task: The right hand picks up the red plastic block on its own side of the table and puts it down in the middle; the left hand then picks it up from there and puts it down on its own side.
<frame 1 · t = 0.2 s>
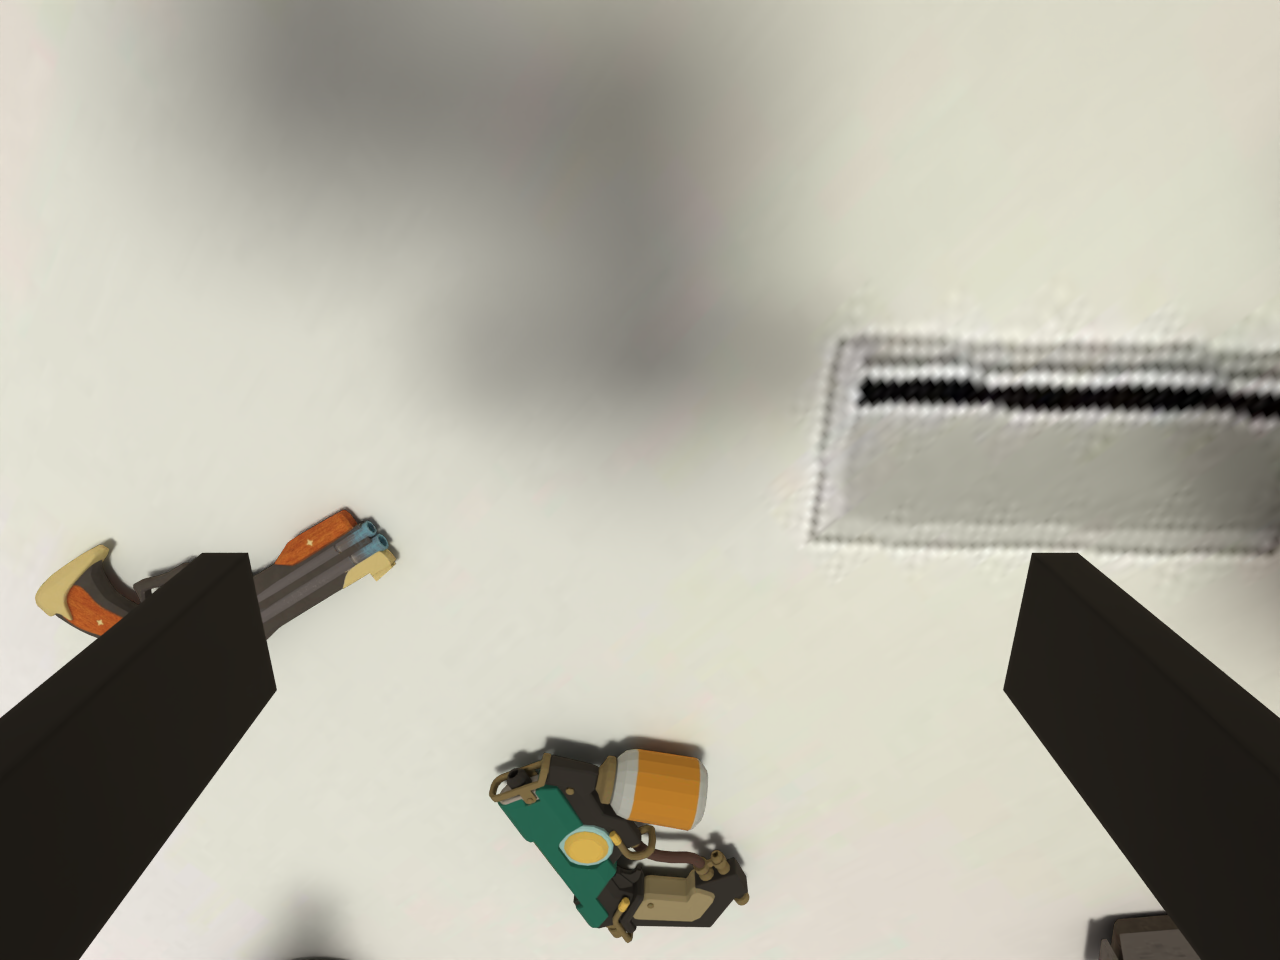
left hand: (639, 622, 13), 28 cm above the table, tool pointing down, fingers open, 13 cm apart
toy gun: (226, 567, 44), on the table
spray gun: (625, 824, 51), on the table
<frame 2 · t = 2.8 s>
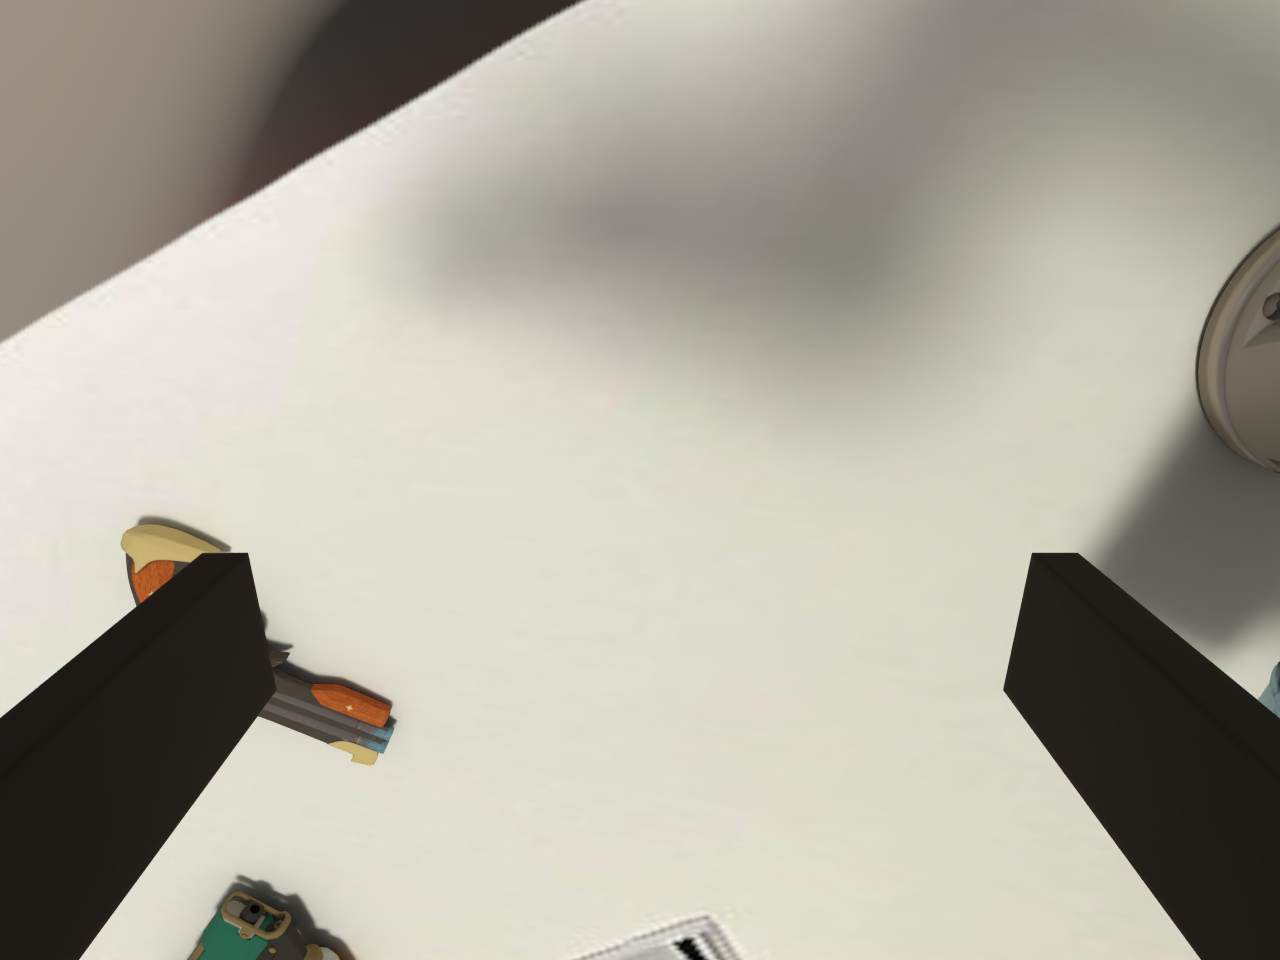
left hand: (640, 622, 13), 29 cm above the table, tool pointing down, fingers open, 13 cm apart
toy gun: (272, 639, 47), on the table
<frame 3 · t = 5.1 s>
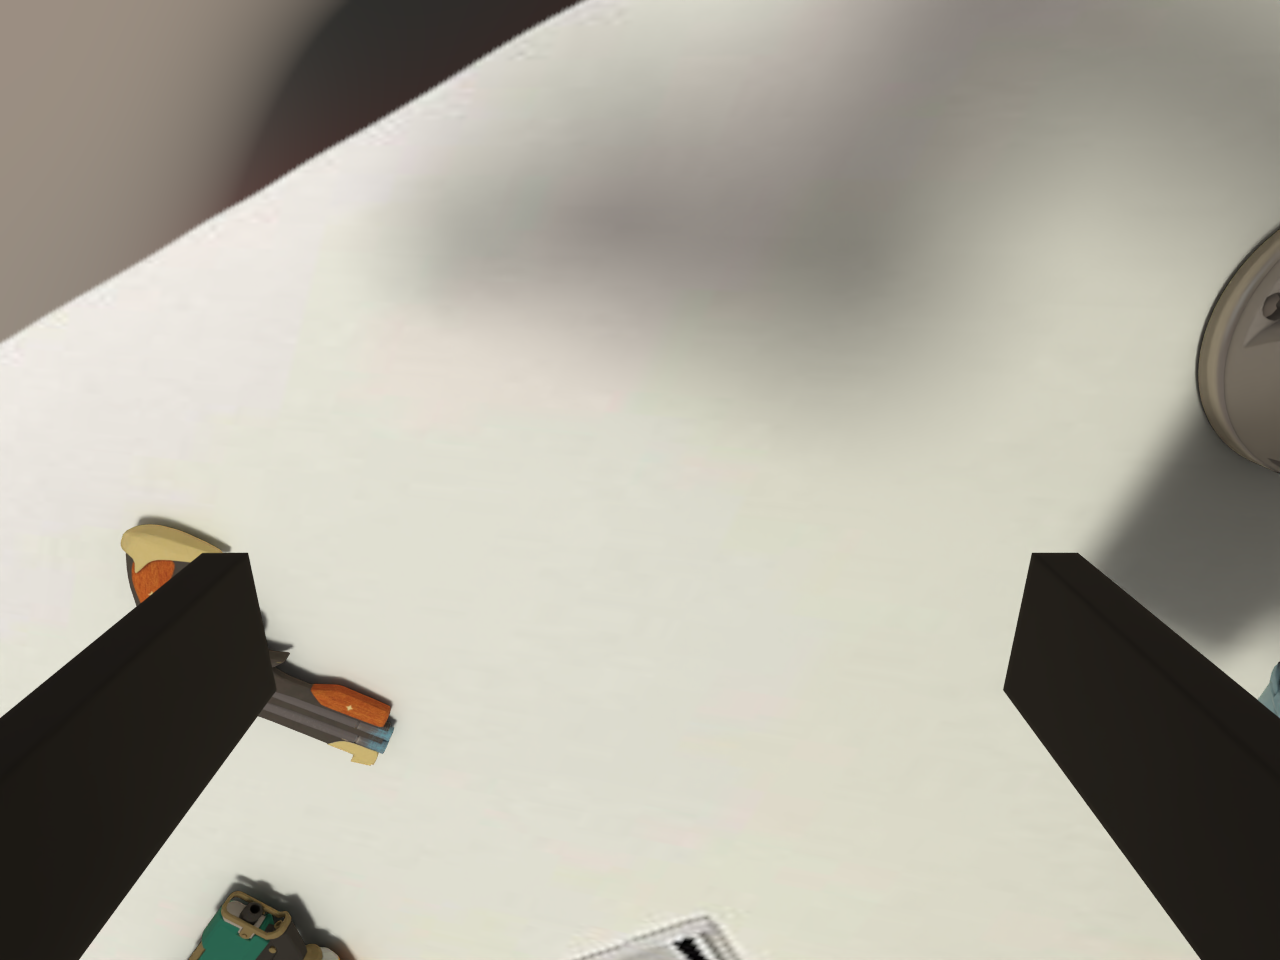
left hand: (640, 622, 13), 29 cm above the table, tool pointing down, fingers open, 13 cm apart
toy gun: (272, 639, 47), on the table
when the right hand's fingers open (4 cm above the table, at t = 7.5 s): block drops 2 cm, on the table.
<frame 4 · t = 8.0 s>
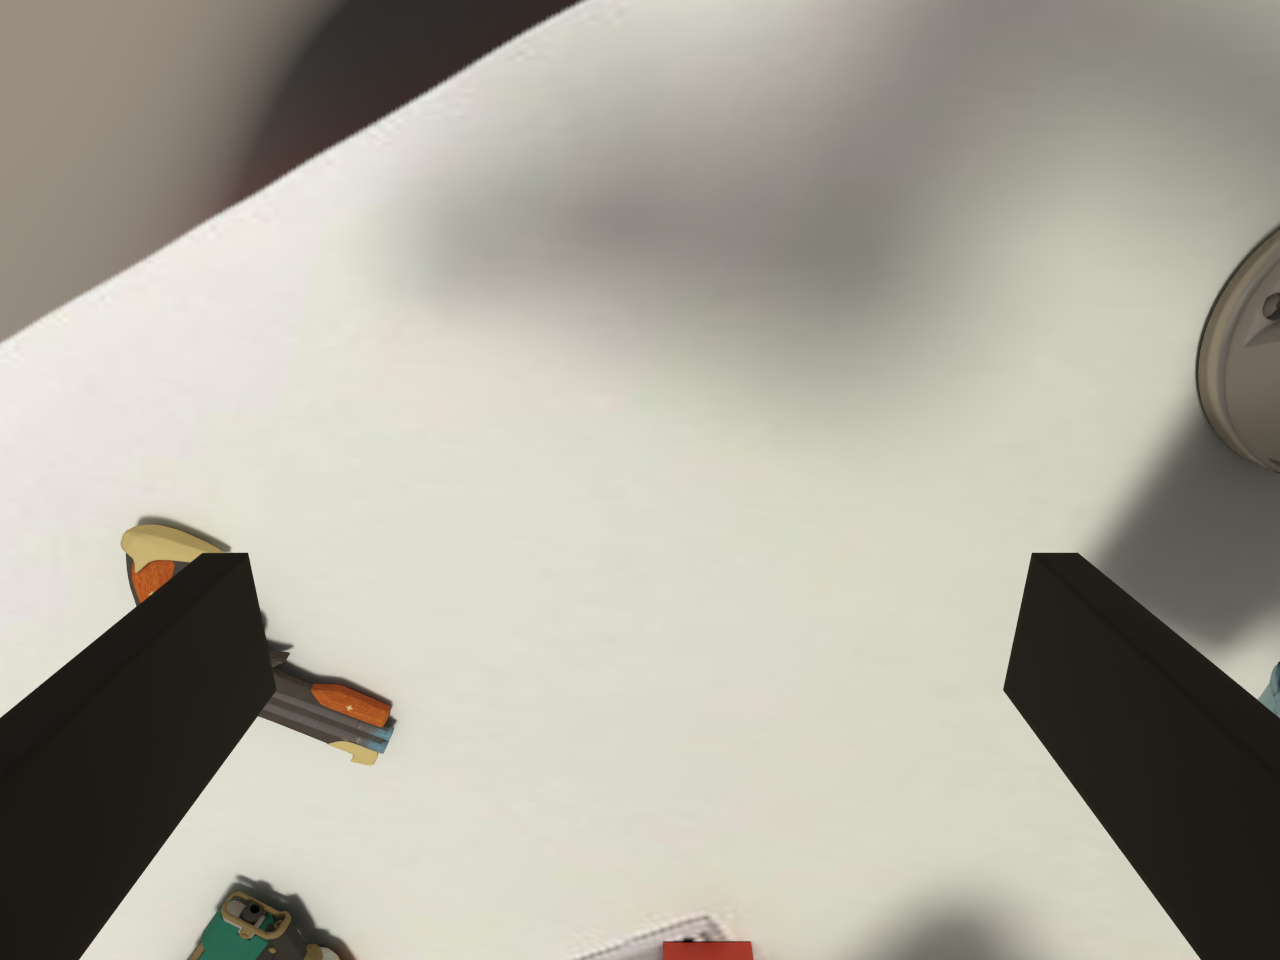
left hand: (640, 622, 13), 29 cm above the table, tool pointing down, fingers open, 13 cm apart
toy gun: (272, 639, 47), on the table
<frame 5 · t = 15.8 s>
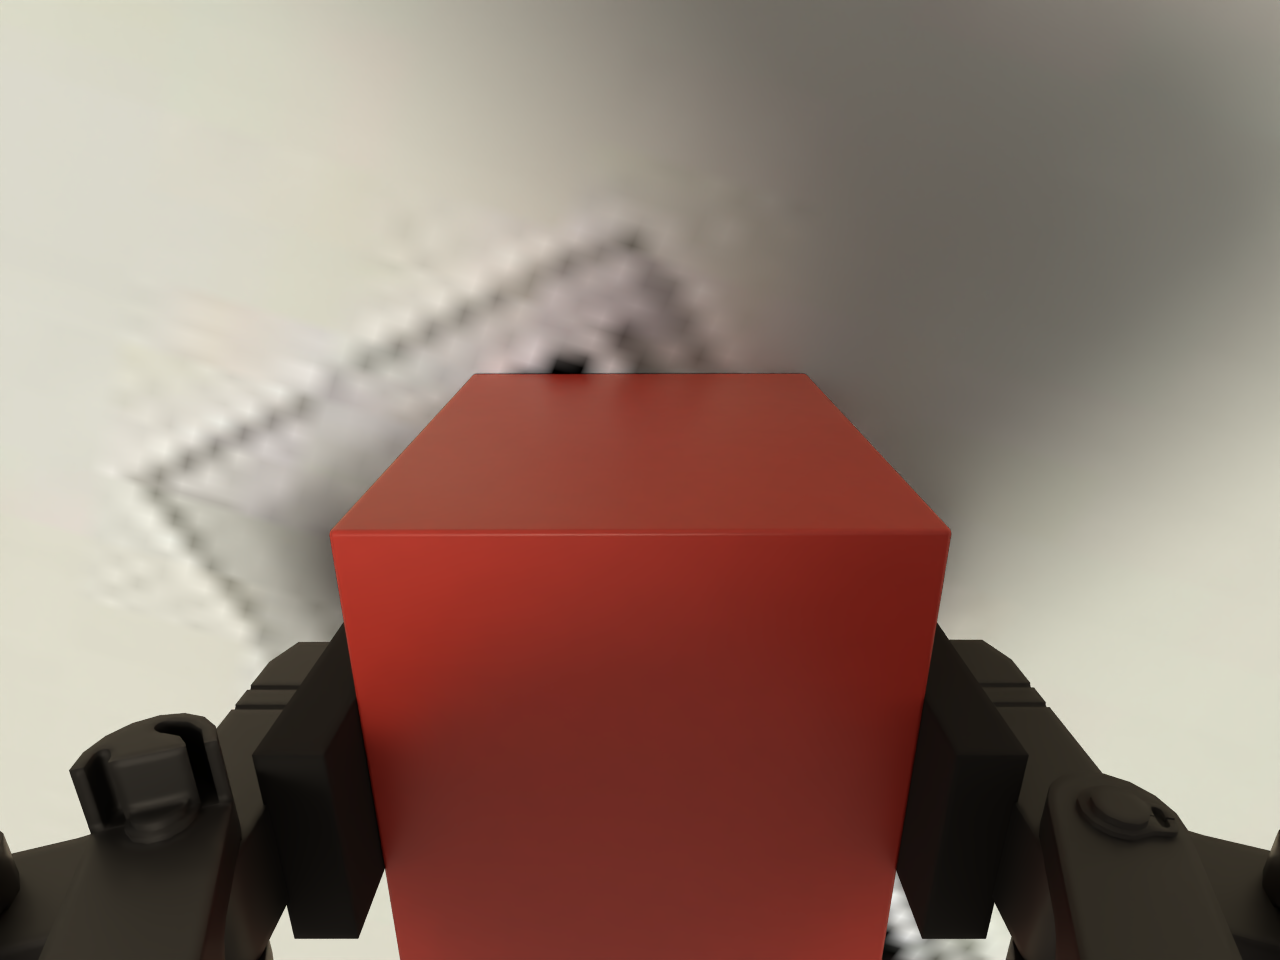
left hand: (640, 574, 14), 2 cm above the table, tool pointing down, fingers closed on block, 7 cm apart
block: (639, 536, 16), on the table, touching left hand
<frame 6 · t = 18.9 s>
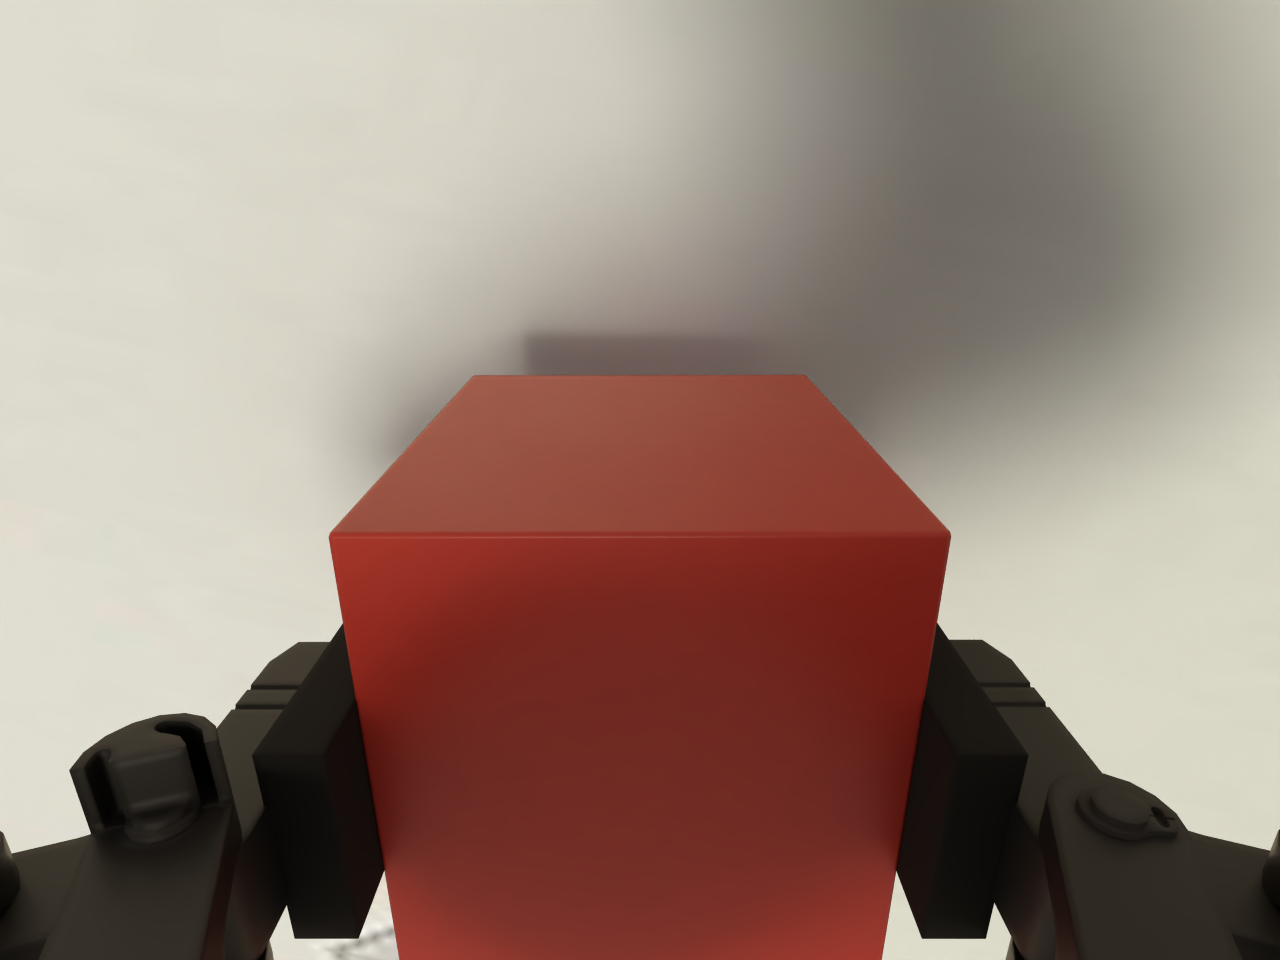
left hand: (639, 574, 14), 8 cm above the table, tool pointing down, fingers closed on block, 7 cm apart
block: (639, 537, 16), point 6 cm above the table, touching left hand
when the left hand's fingers open (4 cm above the table, at t = 21.9 s): block drops 2 cm, on the table.
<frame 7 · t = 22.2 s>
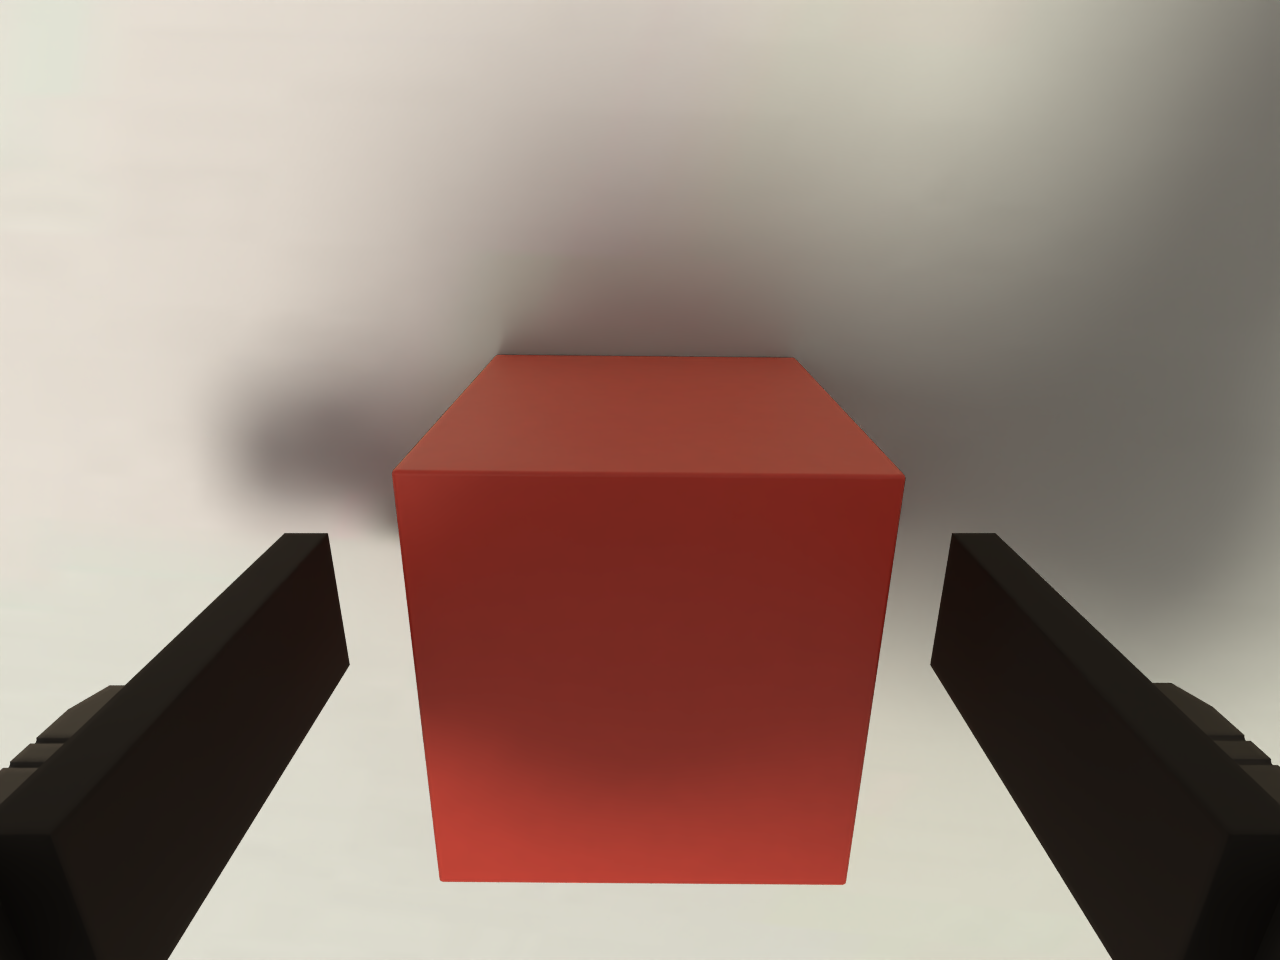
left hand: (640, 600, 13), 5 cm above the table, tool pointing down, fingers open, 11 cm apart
block: (643, 504, 18), on the table
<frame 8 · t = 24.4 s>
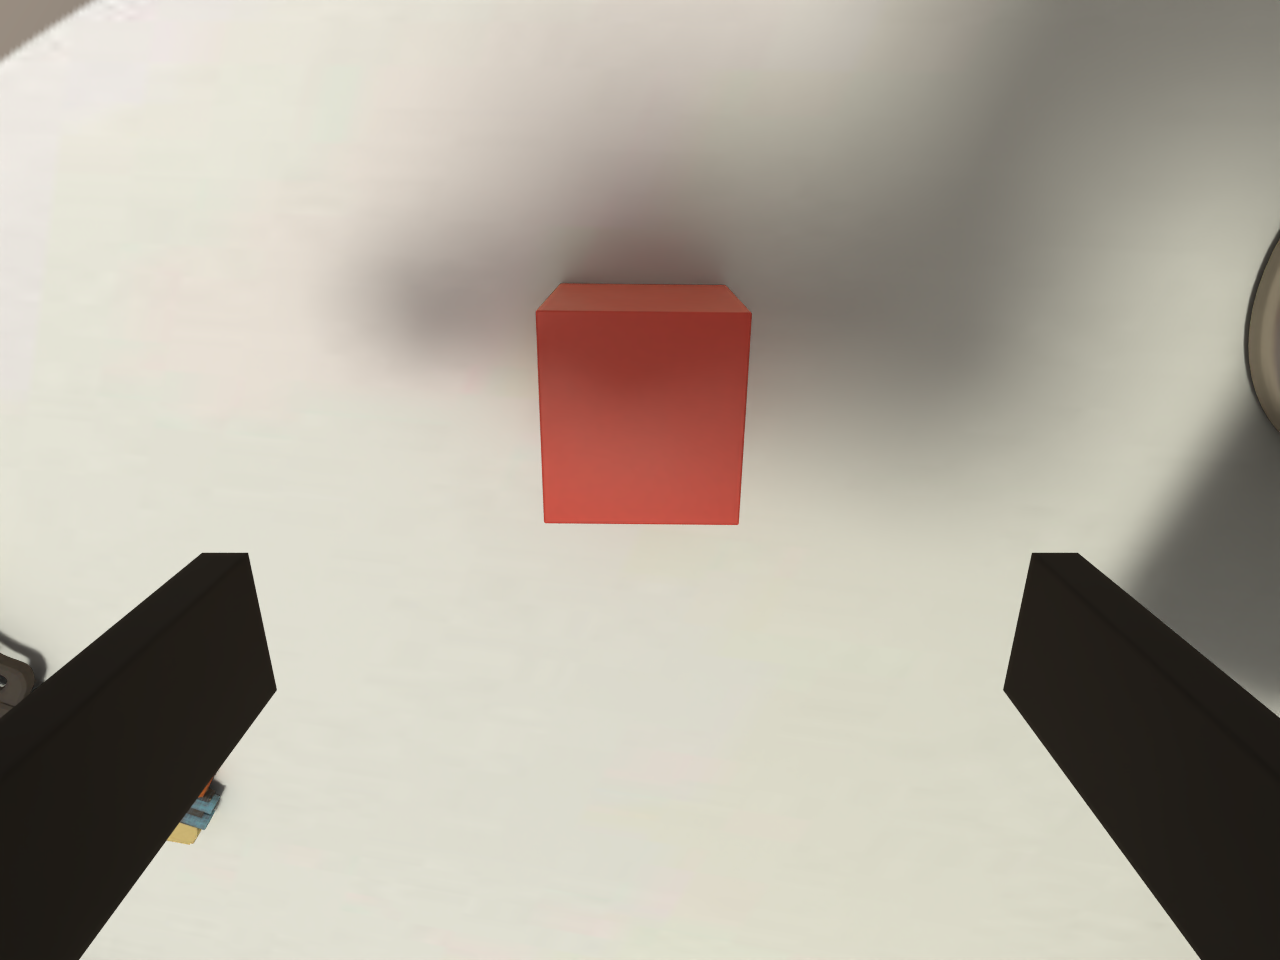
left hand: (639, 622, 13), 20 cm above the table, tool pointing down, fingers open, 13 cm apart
toy gun: (55, 686, 37), on the table
block: (642, 372, 31), on the table
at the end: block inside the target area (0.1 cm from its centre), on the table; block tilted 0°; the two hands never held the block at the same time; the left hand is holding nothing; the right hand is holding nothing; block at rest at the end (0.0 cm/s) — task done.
